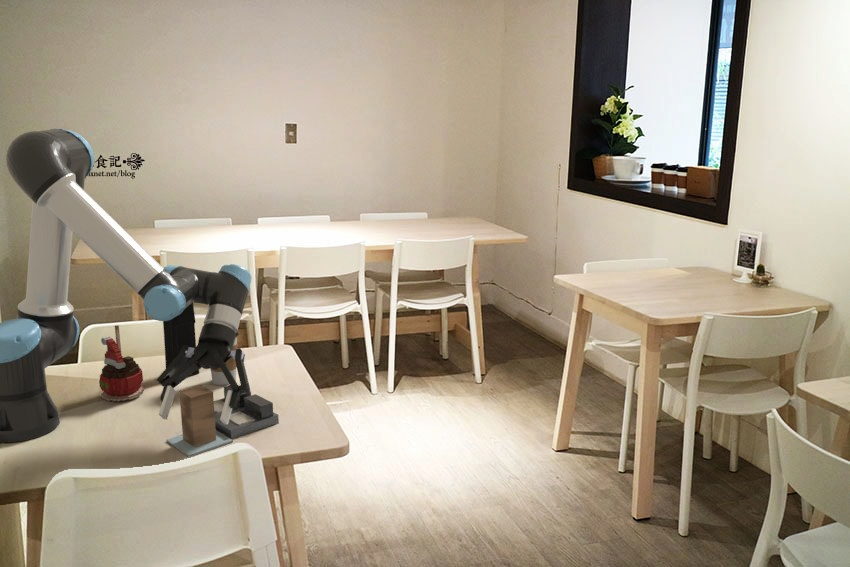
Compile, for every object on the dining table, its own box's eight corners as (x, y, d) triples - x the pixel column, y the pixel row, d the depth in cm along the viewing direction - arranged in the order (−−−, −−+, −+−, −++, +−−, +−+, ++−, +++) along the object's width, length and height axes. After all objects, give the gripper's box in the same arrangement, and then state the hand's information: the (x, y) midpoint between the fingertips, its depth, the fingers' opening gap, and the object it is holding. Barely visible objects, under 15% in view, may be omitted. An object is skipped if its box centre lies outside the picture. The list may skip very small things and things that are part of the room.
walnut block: (183, 439, 163) (179, 391, 160) (204, 432, 166) (201, 385, 164) (194, 447, 159) (191, 397, 157) (216, 440, 163) (213, 391, 160)
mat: (166, 441, 163) (166, 439, 163) (209, 427, 170) (209, 425, 170) (189, 456, 156) (189, 455, 156) (232, 442, 163) (232, 440, 163)
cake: (153, 395, 188) (147, 324, 184) (118, 407, 180) (111, 334, 176) (127, 385, 194) (121, 317, 190) (93, 396, 187) (85, 326, 182)
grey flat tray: (192, 415, 176) (191, 395, 175) (238, 401, 184) (237, 382, 183) (231, 439, 164) (230, 417, 163) (278, 423, 172) (277, 402, 171)
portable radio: (189, 367, 207) (182, 277, 201) (203, 372, 204) (197, 280, 198) (164, 375, 201) (156, 283, 195) (178, 380, 197) (171, 286, 191)
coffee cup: (227, 372, 203) (224, 318, 199) (247, 380, 198) (245, 324, 194) (200, 381, 197) (196, 325, 193) (220, 389, 191) (217, 332, 188)
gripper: (278, 340, 171) (255, 430, 160) (174, 333, 175) (145, 421, 165) (268, 324, 165) (244, 417, 154) (160, 318, 169) (129, 408, 158)
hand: (193, 419), depth 159 cm, fingers open, 13 cm apart
